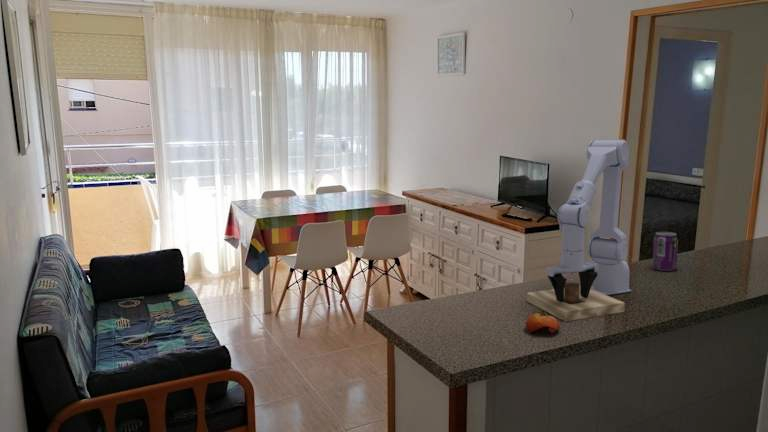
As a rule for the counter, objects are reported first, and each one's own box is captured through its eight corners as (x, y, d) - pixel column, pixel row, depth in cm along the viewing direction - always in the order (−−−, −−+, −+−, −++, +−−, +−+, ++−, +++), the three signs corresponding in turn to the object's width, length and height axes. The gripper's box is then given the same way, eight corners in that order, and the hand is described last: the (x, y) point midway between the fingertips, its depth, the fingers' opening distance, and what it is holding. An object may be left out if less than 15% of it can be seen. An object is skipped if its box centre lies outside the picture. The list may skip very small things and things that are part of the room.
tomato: (570, 326, 137) (552, 307, 135) (555, 350, 135) (536, 331, 133) (548, 321, 144) (530, 303, 142) (533, 344, 142) (515, 326, 140)
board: (581, 293, 167) (581, 285, 167) (624, 311, 150) (624, 302, 150) (526, 301, 162) (526, 292, 161) (565, 321, 145) (565, 311, 144)
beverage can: (680, 271, 186) (682, 235, 184) (658, 272, 186) (660, 236, 184) (670, 266, 193) (671, 231, 191) (648, 266, 193) (650, 231, 191)
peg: (573, 306, 156) (574, 281, 155) (582, 310, 152) (582, 285, 151) (560, 308, 155) (561, 282, 154) (569, 312, 151) (570, 286, 150)
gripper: (586, 243, 157) (585, 291, 159) (540, 249, 152) (540, 298, 155) (603, 248, 150) (602, 298, 152) (555, 254, 146) (555, 305, 148)
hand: (572, 299), depth 153 cm, fingers open, 7 cm apart
